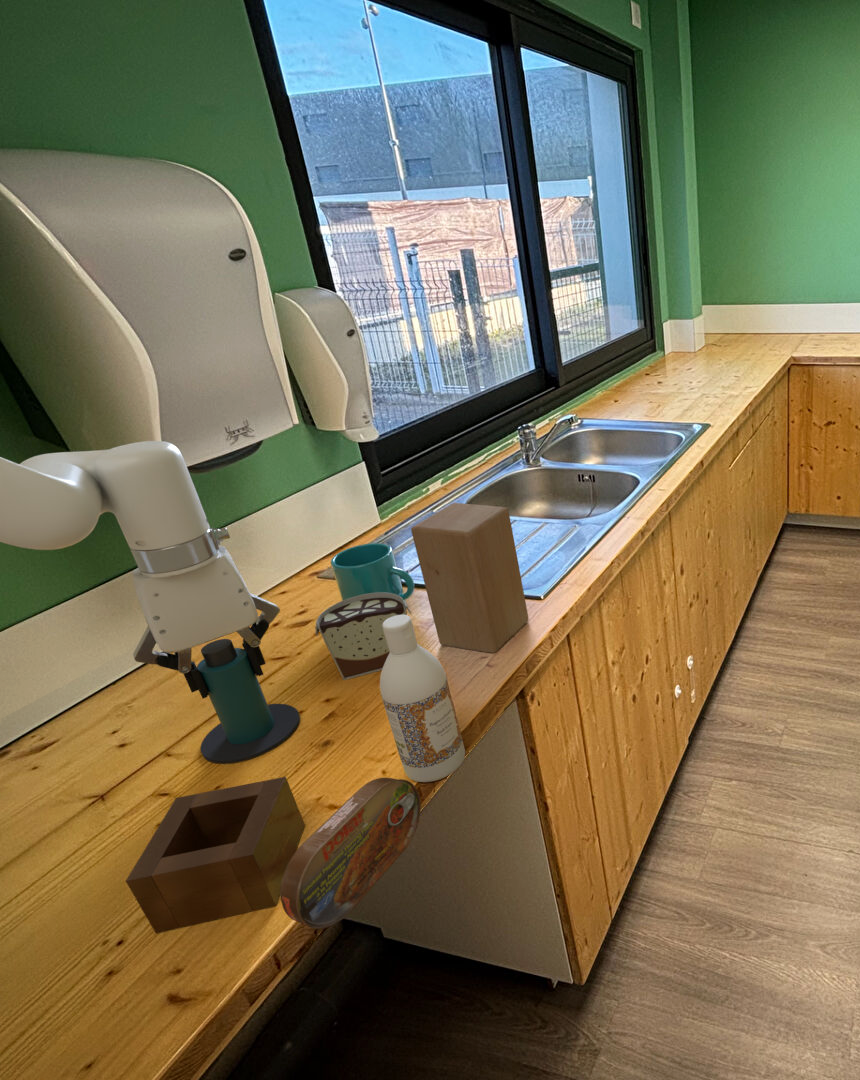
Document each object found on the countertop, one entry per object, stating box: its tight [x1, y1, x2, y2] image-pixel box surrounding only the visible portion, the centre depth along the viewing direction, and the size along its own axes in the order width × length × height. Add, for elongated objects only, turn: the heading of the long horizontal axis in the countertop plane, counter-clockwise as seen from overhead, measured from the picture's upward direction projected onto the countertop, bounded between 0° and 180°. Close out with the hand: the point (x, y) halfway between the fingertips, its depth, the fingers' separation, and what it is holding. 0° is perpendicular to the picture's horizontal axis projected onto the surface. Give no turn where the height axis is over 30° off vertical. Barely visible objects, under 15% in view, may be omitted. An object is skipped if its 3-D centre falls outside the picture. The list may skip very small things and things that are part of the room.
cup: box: [330, 542, 416, 603], centre depth 114 cm, size 9×12×11 cm
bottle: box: [196, 638, 274, 744], centre depth 87 cm, size 5×5×13 cm
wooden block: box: [410, 502, 529, 654], centre depth 106 cm, size 10×10×20 cm
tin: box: [279, 777, 422, 930], centre depth 68 cm, size 15×3×8 cm, turn 161°
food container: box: [314, 592, 412, 681], centre depth 102 cm, size 12×6×10 cm, turn 115°
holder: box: [125, 776, 306, 934], centre depth 69 cm, size 10×10×7 cm
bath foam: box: [379, 614, 466, 783], centre depth 80 cm, size 7×7×20 cm
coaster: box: [200, 703, 301, 765], centre depth 90 cm, size 11×11×1 cm
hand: (230, 680), depth 87 cm, fingers closed on bottle, 5 cm apart
